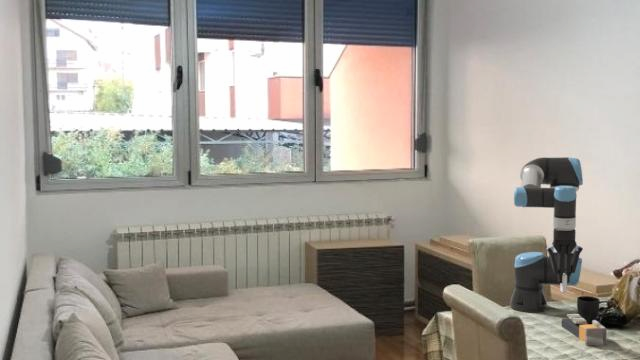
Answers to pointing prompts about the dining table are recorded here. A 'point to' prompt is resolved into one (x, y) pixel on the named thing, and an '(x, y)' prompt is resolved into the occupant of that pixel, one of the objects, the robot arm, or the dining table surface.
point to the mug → (590, 308)
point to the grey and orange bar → (576, 328)
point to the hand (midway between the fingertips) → (563, 291)
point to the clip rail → (591, 330)
